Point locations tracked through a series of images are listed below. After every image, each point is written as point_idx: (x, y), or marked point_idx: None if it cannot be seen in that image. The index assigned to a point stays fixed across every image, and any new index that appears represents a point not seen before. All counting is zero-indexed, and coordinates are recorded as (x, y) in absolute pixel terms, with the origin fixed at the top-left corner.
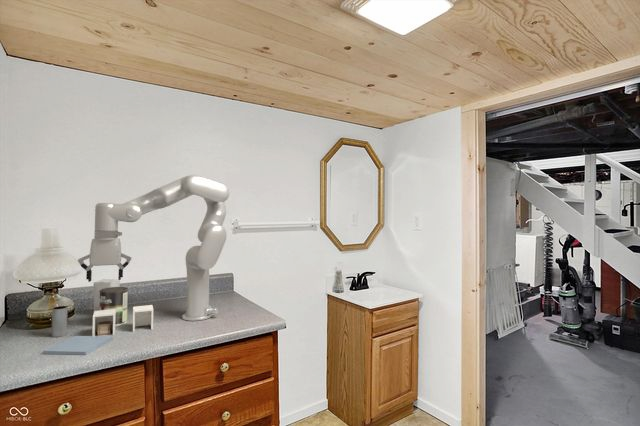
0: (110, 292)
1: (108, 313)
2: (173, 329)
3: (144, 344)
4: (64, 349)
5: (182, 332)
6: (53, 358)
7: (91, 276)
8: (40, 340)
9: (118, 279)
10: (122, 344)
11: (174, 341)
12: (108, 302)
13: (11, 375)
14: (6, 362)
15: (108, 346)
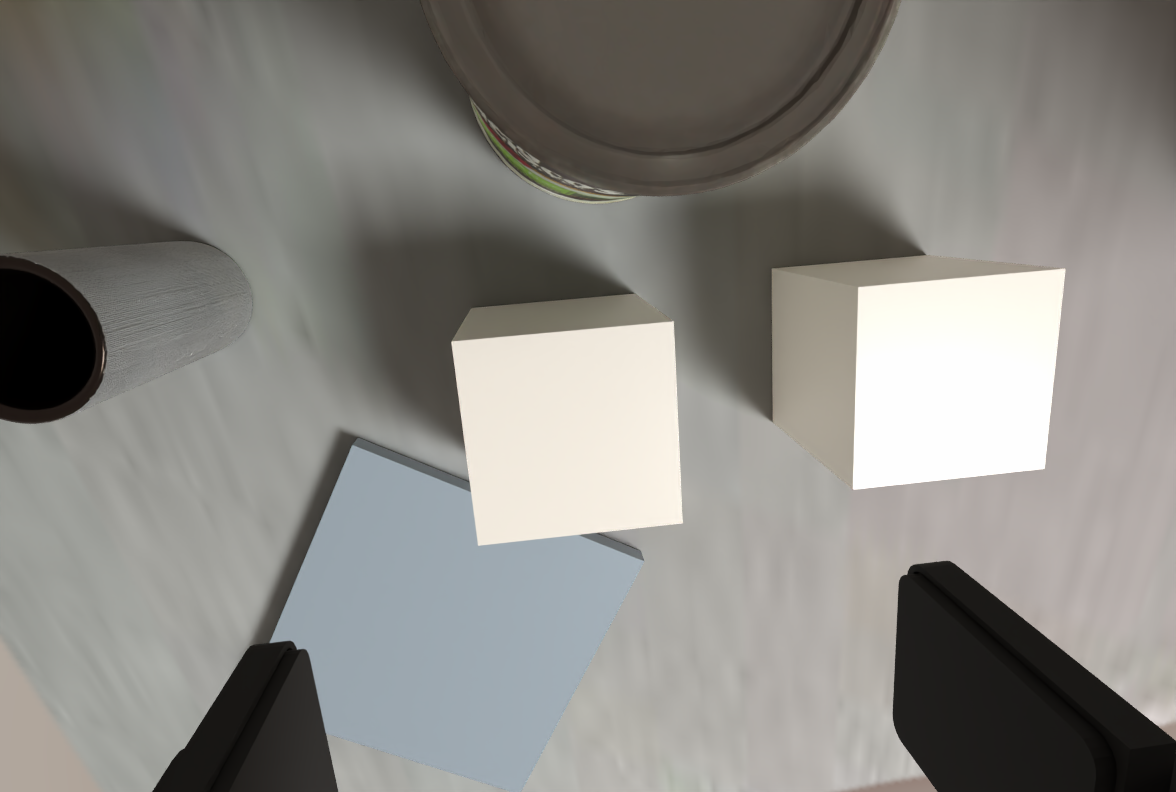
0: (629, 191)
1: (618, 503)
2: (1055, 467)
3: (838, 708)
4: (376, 721)
5: (1094, 557)
6: (348, 777)
7: (272, 709)
8: None
9: (897, 730)
10: (711, 669)
11: None
12: (584, 187)
13: None
14: (88, 764)
15: (629, 678)
